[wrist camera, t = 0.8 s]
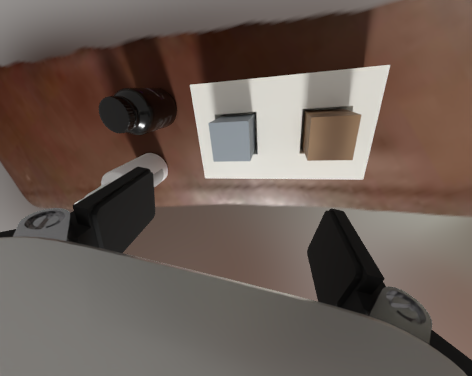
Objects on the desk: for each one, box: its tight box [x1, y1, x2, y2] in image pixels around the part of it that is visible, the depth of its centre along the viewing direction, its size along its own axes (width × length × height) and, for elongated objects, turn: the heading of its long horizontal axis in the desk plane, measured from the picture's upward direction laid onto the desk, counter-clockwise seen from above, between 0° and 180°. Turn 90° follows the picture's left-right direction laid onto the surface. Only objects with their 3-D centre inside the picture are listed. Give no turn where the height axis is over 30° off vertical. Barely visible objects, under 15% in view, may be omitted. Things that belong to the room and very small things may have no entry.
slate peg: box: [208, 114, 256, 162], centre depth 27 cm, size 5×5×6 cm
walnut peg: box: [302, 109, 361, 161], centre depth 25 cm, size 5×5×6 cm
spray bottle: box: [75, 153, 168, 204], centre depth 36 cm, size 7×7×18 cm
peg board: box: [190, 65, 390, 180], centre depth 31 cm, size 24×14×8 cm, turn 96°
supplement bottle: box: [99, 88, 177, 135], centre depth 32 cm, size 7×7×12 cm
